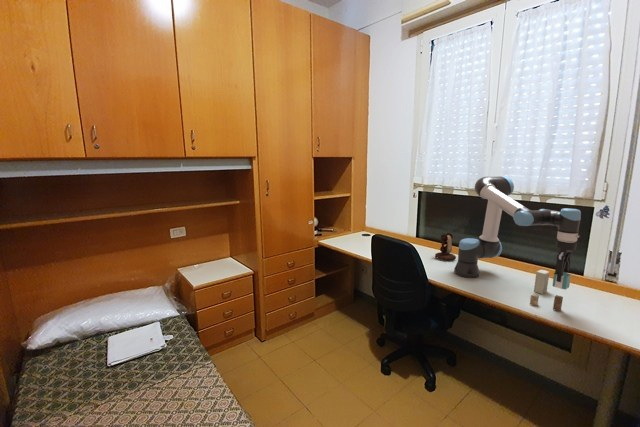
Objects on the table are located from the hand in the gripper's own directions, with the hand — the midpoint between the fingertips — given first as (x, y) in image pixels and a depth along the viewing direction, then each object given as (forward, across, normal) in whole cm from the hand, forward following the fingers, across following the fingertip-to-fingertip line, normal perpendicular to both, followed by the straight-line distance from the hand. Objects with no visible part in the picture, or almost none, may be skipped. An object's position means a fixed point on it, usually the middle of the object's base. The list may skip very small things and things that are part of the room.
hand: (560, 286), depth 144 cm
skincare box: (+13, +18, +13) cm, 26 cm away
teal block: (0, 0, 0) cm, 0 cm away
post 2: (+13, 0, 0) cm, 13 cm away
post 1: (+13, -3, +9) cm, 16 cm away
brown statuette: (+12, +27, +78) cm, 84 cm away
